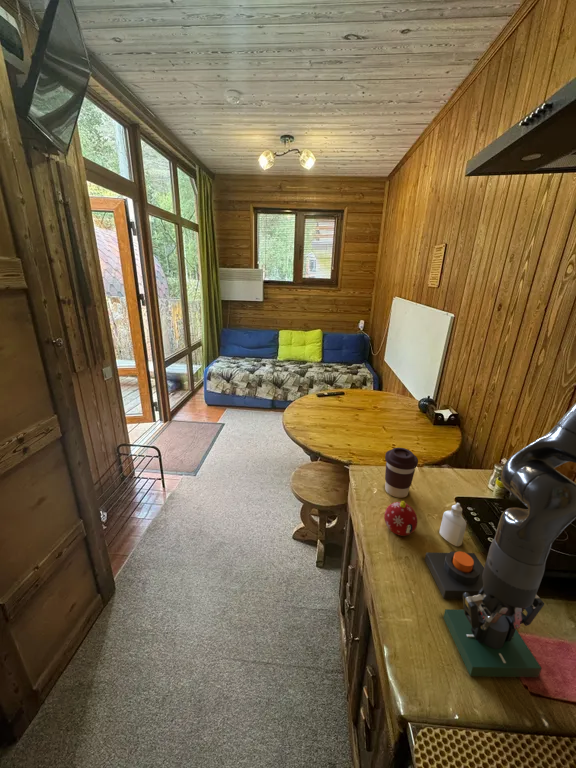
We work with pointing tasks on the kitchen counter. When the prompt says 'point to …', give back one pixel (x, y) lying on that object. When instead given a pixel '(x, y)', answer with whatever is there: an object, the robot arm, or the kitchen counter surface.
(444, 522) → the eye dropper bottle
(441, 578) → the block
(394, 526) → the christmas ornament
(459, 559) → the orange button cap
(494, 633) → the knob
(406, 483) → the coffee cup
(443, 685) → the kitchen counter surface
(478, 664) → the green dial base plate
